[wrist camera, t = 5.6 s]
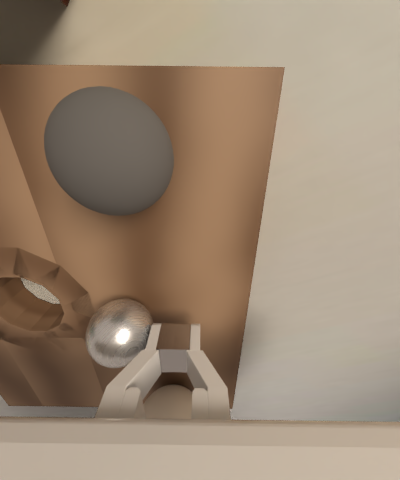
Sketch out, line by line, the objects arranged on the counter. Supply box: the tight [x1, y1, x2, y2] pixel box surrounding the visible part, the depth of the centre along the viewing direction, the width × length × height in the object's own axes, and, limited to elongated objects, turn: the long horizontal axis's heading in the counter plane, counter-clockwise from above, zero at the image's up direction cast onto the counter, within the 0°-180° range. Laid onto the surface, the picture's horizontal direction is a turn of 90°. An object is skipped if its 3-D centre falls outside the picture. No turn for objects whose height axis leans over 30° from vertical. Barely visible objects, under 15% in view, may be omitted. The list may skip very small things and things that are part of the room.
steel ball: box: [85, 299, 153, 368], centre depth 11 cm, size 4×4×4 cm
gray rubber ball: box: [44, 86, 174, 216], centre depth 7 cm, size 4×4×4 cm
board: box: [0, 64, 285, 409], centre depth 14 cm, size 20×24×2 cm
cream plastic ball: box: [143, 384, 192, 419], centre depth 15 cm, size 5×5×5 cm
